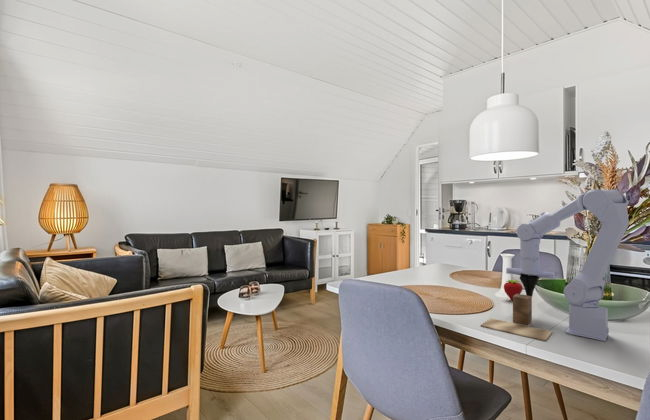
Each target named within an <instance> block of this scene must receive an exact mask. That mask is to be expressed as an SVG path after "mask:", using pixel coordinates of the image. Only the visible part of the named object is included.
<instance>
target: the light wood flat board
mask: <svg viewBox="0 0 650 420" xmlns="http://www.w3.org/2000/svg"><path fill="white" fill-rule="evenodd" d="M480 327H483V328H486V329H491V330H495V331H499V332H503V333H506V334H507V333H508V334H512V335H515V336H521V337H525V338H530V339H533V340H538V341H542V342H547V340H548V339H549V338H550V336H551V335H552V334H553V331H552V330H547V329H544V328H543V329H542V328H538V327H534V326H530V325H529V326H525V325H520V324H515V323H513V322H510V321H506V320H500V319H496V318H493V317H491V318H490V317H489V319H487V320H486V321H484V322H483V323H482V324H480Z"/></svg>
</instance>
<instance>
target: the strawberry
mask: <svg viewBox="0 0 650 420" xmlns="http://www.w3.org/2000/svg"><path fill="white" fill-rule="evenodd" d="M523 288H524V286H523V284H521V282H520V281H518V280H513V278H511V279H508V280H506V282H505V283H504V284H503V290H504V293H505V294H506V296H508V298H509V299H510V301H513V296H514V295H516V294H521V293H522V291H523Z"/></svg>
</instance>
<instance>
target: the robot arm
mask: <svg viewBox="0 0 650 420" xmlns="http://www.w3.org/2000/svg"><path fill="white" fill-rule="evenodd" d="M629 202H630V201H629V200H628V199H627V197H626V195H624V193H623V192H621V191H620V190H618V189H597V188H593V189H590V190H587V191H586V192H585V193H581V194H579V195H578V196H577V197H576V198H574V199H572V201H570V202H568V203H567V204H565V205H564V206H562V207H561V208H559V209H558V210H556V211H554V212H550V211H547V212H545V211H544V212H541V213H540V216H538V217H537V218H535V219H531V220H529V222H528V223H520V225H519V226H518V227H517V228H516V236H517V237H518V239H519V240H520V243H519V244H520V247H519V249H520V252H519V255H520V260H519V263H520V265H519V267H518V268H516V267H506V271H505V272H506V273H505V274H510V275H518V276H519V280H520V283H522V287H523V288H524V291H525V295H528V296H532V297H533V295H534V291H535V287H536V285H537V283H538V281H539V279H540V278H543V279H549V280H554V279H555V277H556V276H555V275H556V274H555V272H552V271H543V270H540V244H541V239H542V238H543V237H544V235H546V234H547V233H550V232H552V231H553V230H555V229H557V228H559V227H560V225H561V222H562V221H565V220H566V219H569V218H570V217H573V216H575V215H577V214H579V213H581V212H583V211H588V212H589V213H591V214H592V215H594V216H595V217H596V218H597V219H598V221H599V222H600V224H601V226H600V228H599V231H598V233H597V236H596V237H595V239H594V241H593V243H592V246H591V248H590V250H589V252H588V255H587V257H586V259H585V261H584V263H583V266H582V268H581V270H580V272H578V273H577V274H576V275H574V277H572V279H571V281H570V282H569V283H568V284H565V286H564V287H563V295H564V298H565V299H566V300H567V303H568V327H567V328H566V330H565V333H566V334H570V335H574V336H578V337H583V338H587V339H592V340H597V341H598V340H599V341H601V342H606V341H607V338H608V335H609V331H610V330H609V320H608V319H609V316H608V315H609V313H608V312H609V311H608V308H607V307H604V306H600V301H601V300H602V299H603V298H604V296H605V291H604V287H605V285H606V282H605V281H604V279H603V278H604V276H605V275H606V272H607V270H608V268H609V266H610V265H611V262H612V260H613V258H614V256H615V254H616V252H617V249H618V247H620V246H619V245H620V243H621V242H622V240H623V237H624V235H625V233H626V231H627V229H628V227H629V225H630V220H629V214H628V205H629Z"/></svg>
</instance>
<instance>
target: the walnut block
mask: <svg viewBox="0 0 650 420" xmlns="http://www.w3.org/2000/svg"><path fill="white" fill-rule="evenodd" d="M532 298H533V295H532V296H528V295H526V294H521V293H520V294H516V295H514V296H513V300H512V323H515V324H520V325H525V326H529V327H530V326H531V324H532V322H533V314H532V313H533V311H532V310H533V304H532V303H533V302H532V301H533V299H532Z"/></svg>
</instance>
